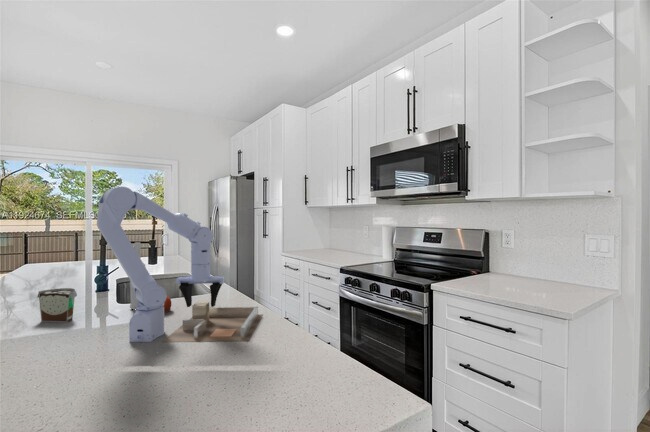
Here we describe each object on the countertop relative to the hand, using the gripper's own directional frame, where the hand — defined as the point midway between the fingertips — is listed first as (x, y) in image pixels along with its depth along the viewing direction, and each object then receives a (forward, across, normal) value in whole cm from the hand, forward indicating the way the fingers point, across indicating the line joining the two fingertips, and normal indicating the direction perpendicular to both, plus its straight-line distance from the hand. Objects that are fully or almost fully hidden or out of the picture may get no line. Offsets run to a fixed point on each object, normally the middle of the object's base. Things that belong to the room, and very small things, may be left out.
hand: (201, 306), depth 106 cm
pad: (+5, -10, +10) cm, 15 cm away
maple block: (+5, 0, 0) cm, 5 cm away
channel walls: (+5, -7, +4) cm, 9 cm away
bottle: (+6, +31, -20) cm, 37 cm away
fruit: (+6, +19, -12) cm, 23 cm away
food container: (+6, +50, -8) cm, 51 cm away
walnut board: (+6, -7, +4) cm, 10 cm away
